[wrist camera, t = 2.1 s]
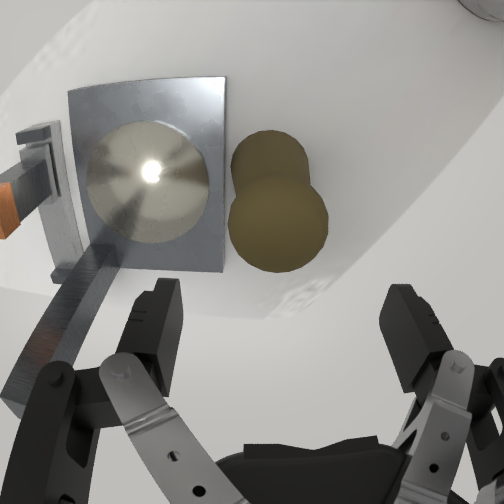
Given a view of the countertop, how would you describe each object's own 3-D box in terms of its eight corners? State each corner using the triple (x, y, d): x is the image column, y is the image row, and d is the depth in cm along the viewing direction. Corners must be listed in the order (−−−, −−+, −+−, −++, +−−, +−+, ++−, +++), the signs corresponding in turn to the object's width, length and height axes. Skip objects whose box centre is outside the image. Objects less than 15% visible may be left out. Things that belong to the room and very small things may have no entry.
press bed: (76, 88, 20) (-113, 170, 5) (226, 76, 21) (155, 112, 6) (101, 257, 29) (18, 418, 14) (224, 262, 29) (203, 458, 14)
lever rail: (33, 125, 22) (15, 133, 19) (59, 120, 22) (42, 128, 20) (64, 267, 30) (53, 283, 28) (87, 269, 30) (77, 285, 28)
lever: (23, 147, 21) (-39, 185, 14) (51, 143, 21) (-11, 181, 14) (33, 200, 24) (-19, 249, 17) (61, 199, 24) (9, 250, 17)
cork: (312, 133, 23) (353, 186, 14) (304, 205, 26) (331, 292, 17) (231, 128, 23) (216, 178, 14) (229, 201, 26) (217, 288, 17)
